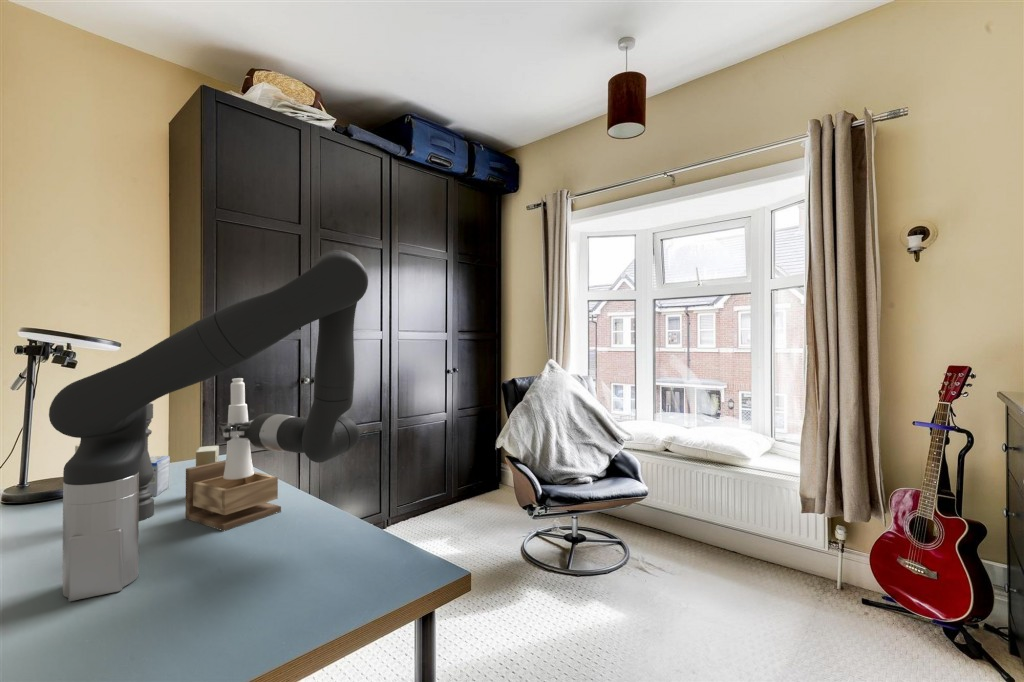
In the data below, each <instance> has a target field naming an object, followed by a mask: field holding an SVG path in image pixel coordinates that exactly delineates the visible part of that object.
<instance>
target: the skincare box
mask: <svg viewBox="0 0 1024 682" xmlns="http://www.w3.org/2000/svg"><path fill="white" fill-rule="evenodd" d="M219 461H220V445H207V446H206V445H205V446H199V448H197V449H196V452H195V467H196V466H200V465H205V464H210V463H215V462H219Z"/></svg>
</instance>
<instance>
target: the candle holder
mask: <svg viewBox="0 0 1024 682" xmlns="http://www.w3.org/2000/svg"><path fill="white" fill-rule="evenodd" d="M153 418H154V404H153V403H152V402H151V403H149V404H147V420H146V438H145V448H144V452H143V455H142V457H141V460H140V463H139V522H141V521H144V520H148V519H150V518H152V517H153V516H154V515H155V500H154V497H151V496H152V495H153V493H152V492H151V491H150V490H149V489H148V486H149V482H150V481H151V480H152V478H153V476H154V470H153V466H152V463H151V460H150V457H151V456H150V453H149V446H148V445H149V437H150V436H151V435H152V432H153V431H152V430H151V429H149V426H150V425H151V423H152V419H153ZM147 518H148V519H147Z"/></svg>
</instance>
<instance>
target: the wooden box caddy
mask: <svg viewBox="0 0 1024 682" xmlns="http://www.w3.org/2000/svg"><path fill="white" fill-rule="evenodd" d="M225 463H226V459H225V460H219V462H215V463H210V464H205V465H200V466H196V465H195V466H191V467H187V468H185V519H186V520H190V521H193V522H194V523H198V524H201V525H204V526H207V525H208V526H207V527H210V526H211V528H213V527H215V528H214V529H216V528H218V529H217V530H219V529H221V530H220V531H222V530H223V532H225V531H228V530H231V529H234V528H237V527H240V526H243V525H245V524H248V523H251V522H254V521H257V520H260V519H264V518H266V517H270V516H272V515H274V513H275V514H277V513H276V512H278V513H280V512H279V511H281V512H282V506H281V505H277V504H275V503H274V504H273V503H270V502H271V501H275V500H278V499H279V498H278V493H279V492H278V491H279V480H278V479H279V478H278V476H274V475H270V474H266V473H261V472H256V471H254V475H252V476H250V477H247V478H242V479H235V480H227V479H224V478H223V476H224V470H225ZM236 526H237V527H236ZM233 527H234V528H233ZM230 528H231V529H230ZM227 529H228V530H227ZM224 530H225V531H224Z"/></svg>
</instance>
